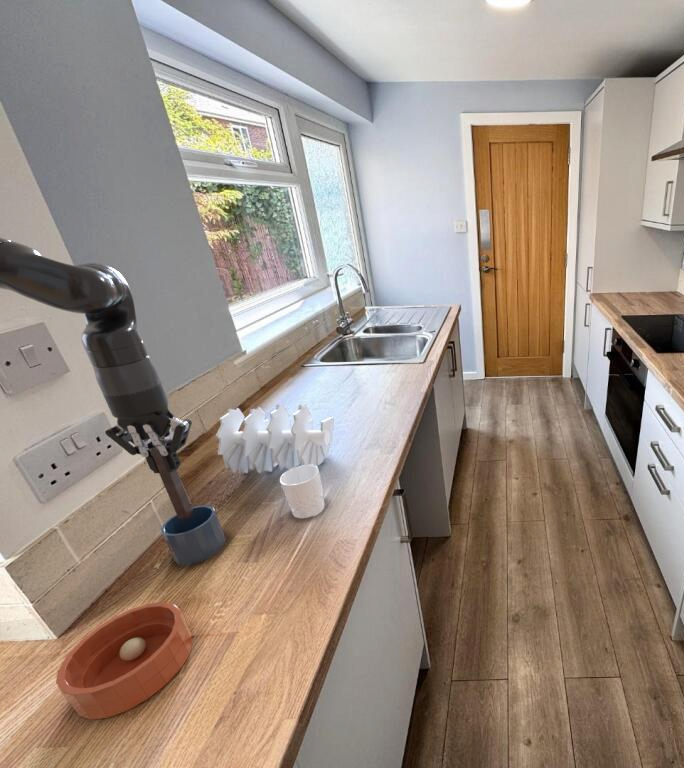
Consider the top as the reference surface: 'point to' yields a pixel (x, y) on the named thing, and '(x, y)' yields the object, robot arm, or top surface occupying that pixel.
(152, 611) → the bowl
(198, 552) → the utensil pot
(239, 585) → the top surface
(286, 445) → the spiral staircase
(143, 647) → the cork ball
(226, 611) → the top surface
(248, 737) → the top surface
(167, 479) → the stick
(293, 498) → the white cup
